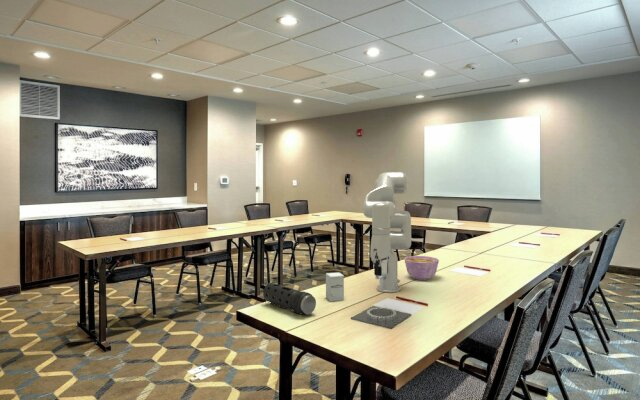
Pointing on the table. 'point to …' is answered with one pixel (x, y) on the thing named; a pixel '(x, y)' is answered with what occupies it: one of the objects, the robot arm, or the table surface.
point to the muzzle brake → (290, 298)
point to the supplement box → (334, 286)
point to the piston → (383, 270)
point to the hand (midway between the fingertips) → (381, 273)
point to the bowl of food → (421, 266)
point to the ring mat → (381, 317)
